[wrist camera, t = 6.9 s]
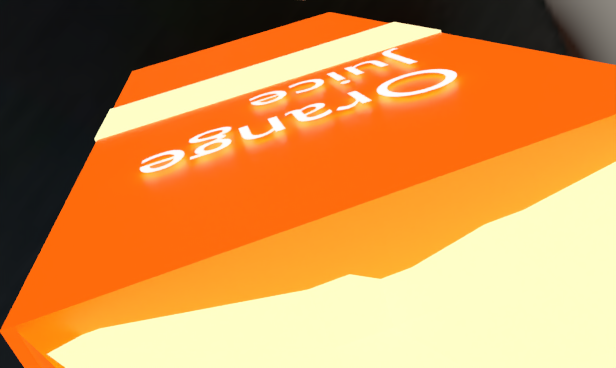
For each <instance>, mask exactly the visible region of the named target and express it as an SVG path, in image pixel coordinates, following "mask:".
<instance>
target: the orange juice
mask: <svg viewBox="0 0 616 368" xmlns="http://www.w3.org/2000/svg"><path fill="white" fill-rule="evenodd" d="M95 141H96V143H95V145H94V147H93V149H92V151H91V153H90V155H89V157H88V159H87V161H86V163H85V165H84V167H83V169H82V171H81V173H80V175H79V177H78V179H77V181H76V183H75V185H74V187H73V189H72V191H71V193H70V195H69V196H68V198H67V200H66V202H65V204H64V206H63V208H62V210H61V212H60V214H59V216H58V218H57V220H56V222H55V224H54V226H53V228H52V230H51V232H50V234H49V236H48V238H47V240H46V242H45V244H44V246H43V248H42V250H41V252H40V254H39V255H38V257H37V259H36V261H35V263H34V265H33V267H32V269H31V271H30V273H29V275H28V277H27V279H26V281H25V283H24V285H23V287H22V289H21V291H20V293H19V295H18V297H17V299H16V301H15V303H14V305H13V307H12V309H11V311H10V313H9V314H8V316H7V318H6V320H5V322H4V324H3V326H2V328H1V330H0V332H1V334H2V335H3V337H4V338H5V340H6V341H7V343H8V344H9V346H10V347H11V349H12V350H13V352H14V353H15V355H16V356H17V357H18V359H19V360H20V362H21V363H22V365H23V366H24V368H616V65H612V64H606V63H601V62H595V61H590V60H585V59H580V58H574V57H569V56H563V55H558V54H553V53H547V52H542V51H537V50H531V49H526V48H520V47H515V46H510V45H504V44H499V43H493V42H488V41H483V40H477V39H472V38H466V37H461V36H456V35H450V34H445V33H441V30H438V29H432V28H426V27H420V26H415V25H409V24H403V23H398V22H392V23H385V22H380V21H375V20H369V19H364V18H358V17H353V16H348V15H342V14H337V13H331V12H328V13H325V14H322V15H318V16H315V17H312V18H308V19H305V20H302V21H298V22H295V23H292V24H288V25H285V26H282V27H278V28H275V29H272V30H268V31H265V32H262V33H258V34H255V35H252V36H248V37H245V38H242V39H238V40H235V41H232V42H228V43H225V44H222V45H218V46H215V47H212V48H208V49H205V50H202V51H198V52H195V53H192V54H188V55H185V56H182V57H178V58H175V59H172V60H168V61H165V62H162V63H158V64H155V65H152V66H148V67H145V68H142V69H138V70H135V71H132V73H131V75H130V77H129V79H128V80H127V82H126V84H125V86H124V88H123V90H122V92H121V94H120V96H119V98H118V100H117V102H116V104H115V106H114V108H112V109H110V110H109V112H108V114H107V116H106V118H105V120H104V122H103V124H102V125H101V127H100V129H99V131H98V133H97V135H96V137H95Z"/></svg>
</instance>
